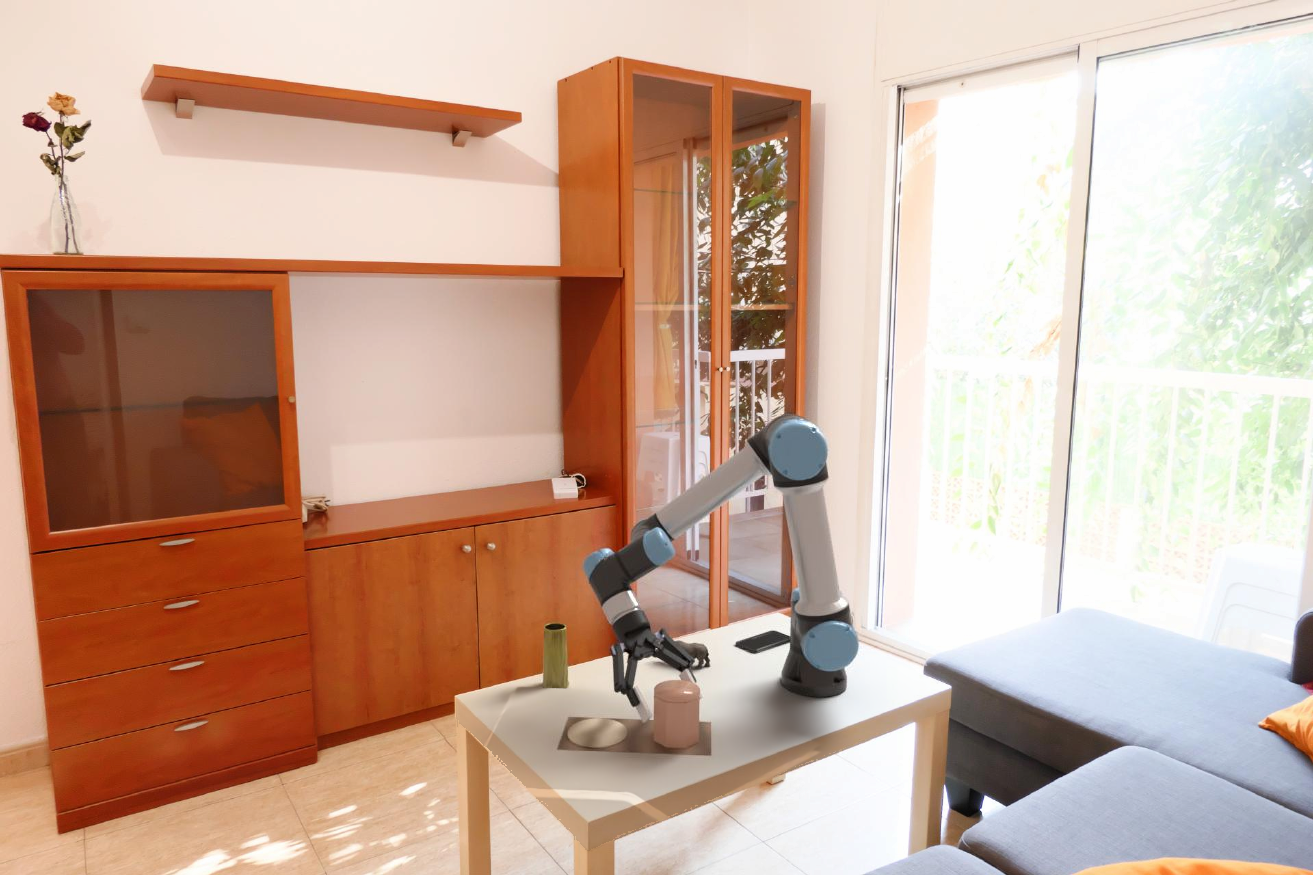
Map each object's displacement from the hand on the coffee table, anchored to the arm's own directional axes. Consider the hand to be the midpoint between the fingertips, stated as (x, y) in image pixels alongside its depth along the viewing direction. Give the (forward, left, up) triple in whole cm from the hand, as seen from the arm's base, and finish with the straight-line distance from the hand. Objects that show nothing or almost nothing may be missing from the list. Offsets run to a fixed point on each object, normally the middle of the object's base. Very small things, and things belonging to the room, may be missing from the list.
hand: (673, 709), depth 174 cm
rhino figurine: (-1, -40, -7) cm, 41 cm away
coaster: (+15, 0, -6) cm, 16 cm away
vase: (+28, -25, -7) cm, 39 cm away
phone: (-22, -56, -8) cm, 61 cm away
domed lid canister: (-1, 0, -6) cm, 6 cm away
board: (+7, 0, -7) cm, 10 cm away
